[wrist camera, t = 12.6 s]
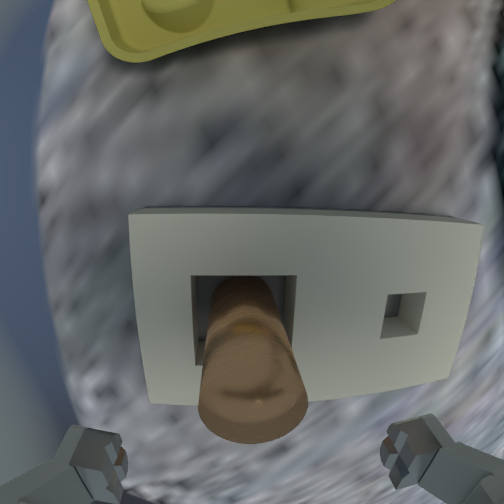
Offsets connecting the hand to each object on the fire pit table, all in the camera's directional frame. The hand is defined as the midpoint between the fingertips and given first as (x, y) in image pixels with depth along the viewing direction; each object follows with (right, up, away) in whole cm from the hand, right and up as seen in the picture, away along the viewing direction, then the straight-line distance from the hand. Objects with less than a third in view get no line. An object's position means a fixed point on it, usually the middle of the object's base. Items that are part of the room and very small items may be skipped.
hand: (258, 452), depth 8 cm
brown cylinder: (-1, +2, +12) cm, 13 cm away
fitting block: (+4, +3, +14) cm, 15 cm away
